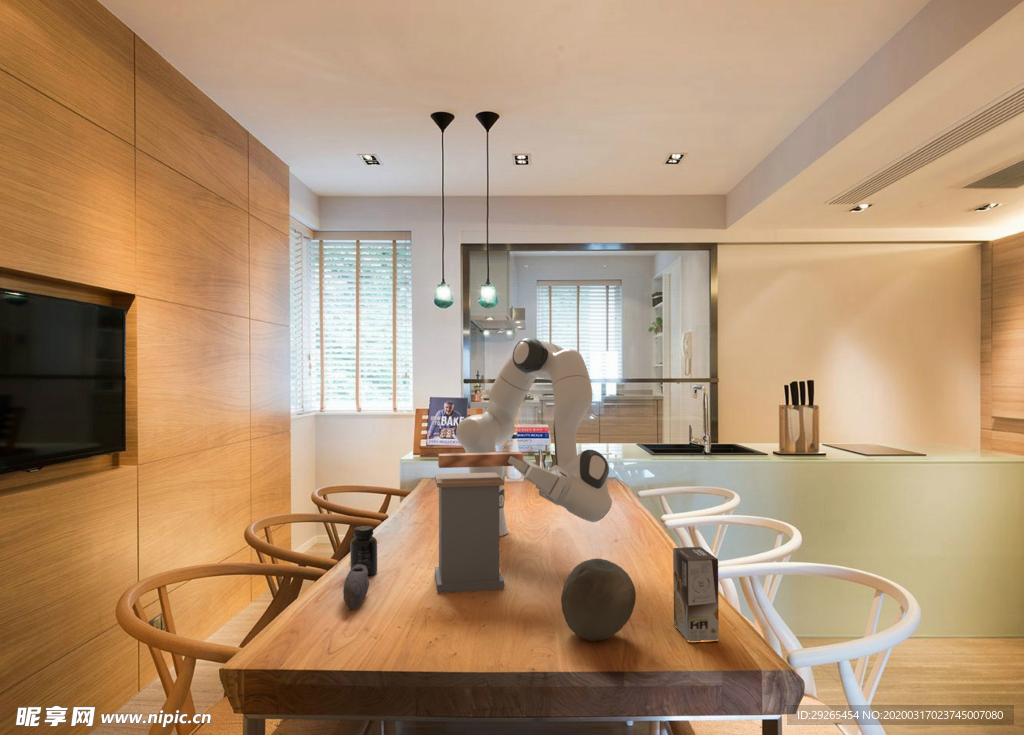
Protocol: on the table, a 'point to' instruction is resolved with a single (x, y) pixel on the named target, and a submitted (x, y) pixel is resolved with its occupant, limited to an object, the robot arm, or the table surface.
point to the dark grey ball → (597, 599)
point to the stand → (468, 532)
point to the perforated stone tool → (356, 586)
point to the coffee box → (696, 593)
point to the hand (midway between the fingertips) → (507, 457)
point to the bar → (477, 459)
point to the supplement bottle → (364, 549)
